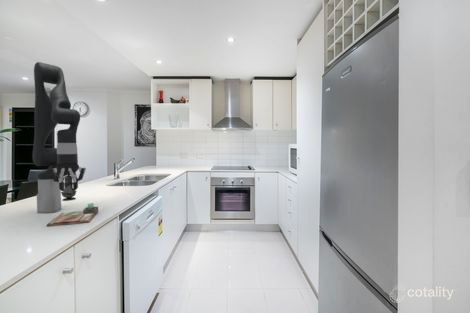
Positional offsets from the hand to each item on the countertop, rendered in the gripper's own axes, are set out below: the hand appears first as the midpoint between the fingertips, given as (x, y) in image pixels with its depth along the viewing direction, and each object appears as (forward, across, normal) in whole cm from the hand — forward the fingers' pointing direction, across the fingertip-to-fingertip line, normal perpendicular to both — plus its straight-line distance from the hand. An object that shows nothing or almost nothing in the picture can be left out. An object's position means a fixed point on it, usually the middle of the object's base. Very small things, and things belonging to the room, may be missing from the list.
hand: (68, 190), depth 106 cm
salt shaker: (+4, 0, 0) cm, 4 cm away
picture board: (+14, -1, -4) cm, 15 cm away
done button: (+12, -6, -9) cm, 17 cm away
